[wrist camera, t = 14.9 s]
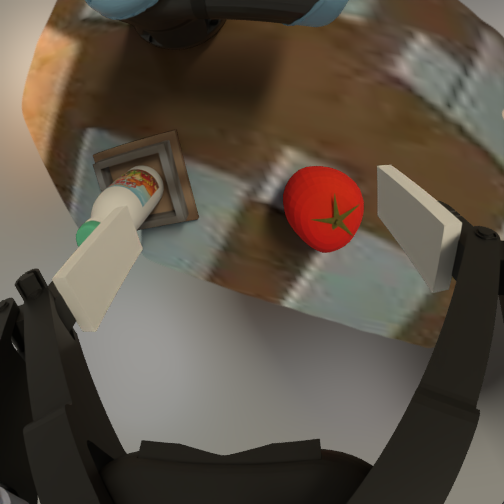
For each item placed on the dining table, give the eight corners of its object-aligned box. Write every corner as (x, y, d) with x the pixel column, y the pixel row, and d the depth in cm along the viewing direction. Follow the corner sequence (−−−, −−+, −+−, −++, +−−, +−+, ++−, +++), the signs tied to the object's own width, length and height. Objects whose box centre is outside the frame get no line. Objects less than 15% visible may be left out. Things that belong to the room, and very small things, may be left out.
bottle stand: (95, 153, 47) (84, 159, 44) (176, 129, 45) (169, 133, 42) (121, 231, 55) (113, 241, 52) (198, 216, 53) (194, 226, 50)
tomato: (285, 235, 55) (291, 271, 45) (277, 161, 48) (282, 182, 38) (351, 228, 54) (370, 262, 44) (350, 154, 47) (374, 175, 37)
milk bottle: (172, 196, 50) (130, 259, 33) (136, 212, 52) (86, 277, 35) (152, 156, 47) (96, 203, 30) (116, 175, 48) (54, 227, 31)
